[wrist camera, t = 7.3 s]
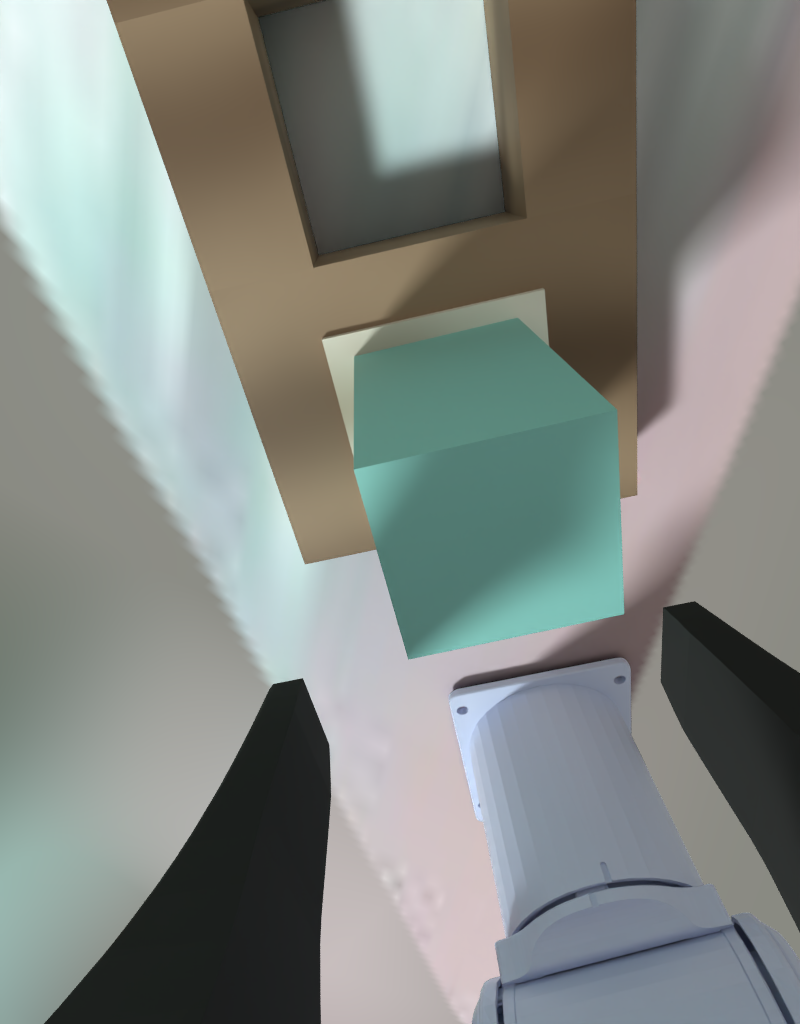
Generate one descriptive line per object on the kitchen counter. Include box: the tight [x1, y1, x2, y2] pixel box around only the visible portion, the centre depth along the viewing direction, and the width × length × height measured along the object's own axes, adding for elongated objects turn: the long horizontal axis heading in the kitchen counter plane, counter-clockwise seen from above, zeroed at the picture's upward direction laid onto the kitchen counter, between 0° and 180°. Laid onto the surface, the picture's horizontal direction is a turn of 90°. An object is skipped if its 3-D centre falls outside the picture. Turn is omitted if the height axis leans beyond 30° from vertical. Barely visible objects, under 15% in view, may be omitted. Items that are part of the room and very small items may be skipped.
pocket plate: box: [107, 0, 637, 564], centre depth 16 cm, size 16×11×3 cm
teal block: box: [354, 318, 624, 659], centre depth 14 cm, size 4×4×7 cm
